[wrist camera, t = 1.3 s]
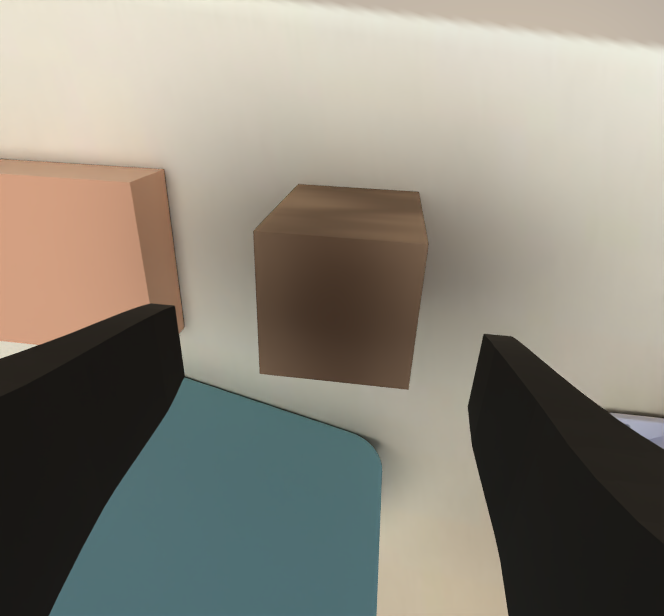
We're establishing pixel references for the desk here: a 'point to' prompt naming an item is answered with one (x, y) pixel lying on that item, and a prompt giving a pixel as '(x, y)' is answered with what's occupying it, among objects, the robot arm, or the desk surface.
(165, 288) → the terracotta plinth
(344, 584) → the teal rounded block
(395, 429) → the desk surface
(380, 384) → the walnut block
